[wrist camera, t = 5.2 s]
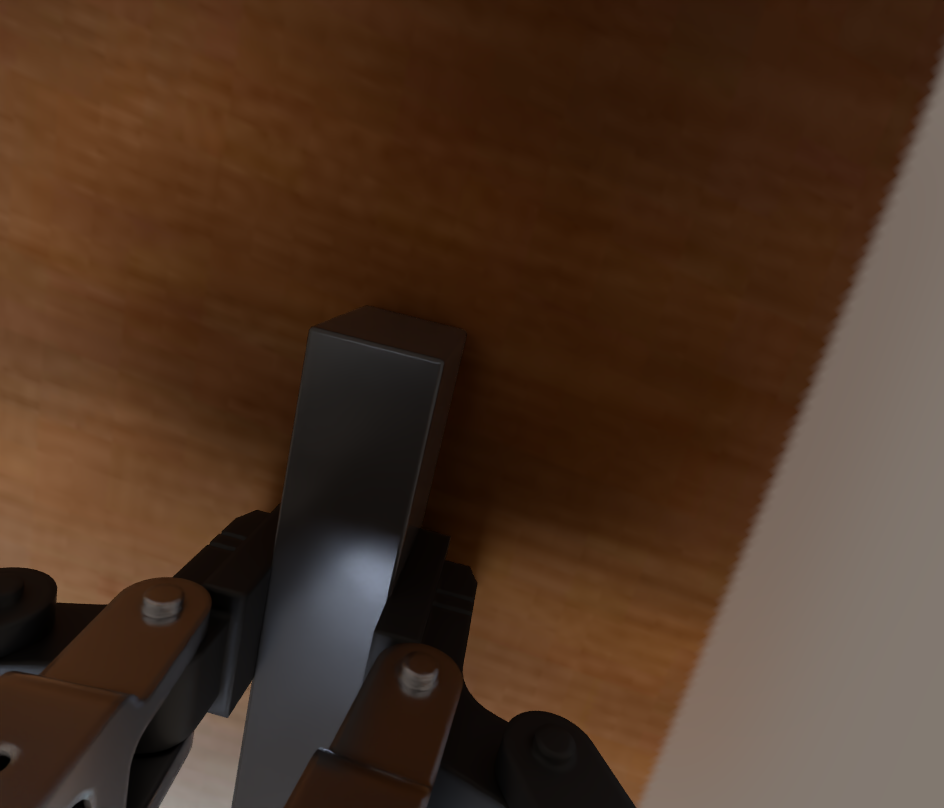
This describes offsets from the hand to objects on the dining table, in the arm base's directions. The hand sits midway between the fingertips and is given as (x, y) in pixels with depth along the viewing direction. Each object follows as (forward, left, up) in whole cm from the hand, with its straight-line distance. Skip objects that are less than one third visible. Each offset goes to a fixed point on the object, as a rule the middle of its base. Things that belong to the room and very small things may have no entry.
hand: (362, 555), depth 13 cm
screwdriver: (+4, +3, 0) cm, 5 cm away
